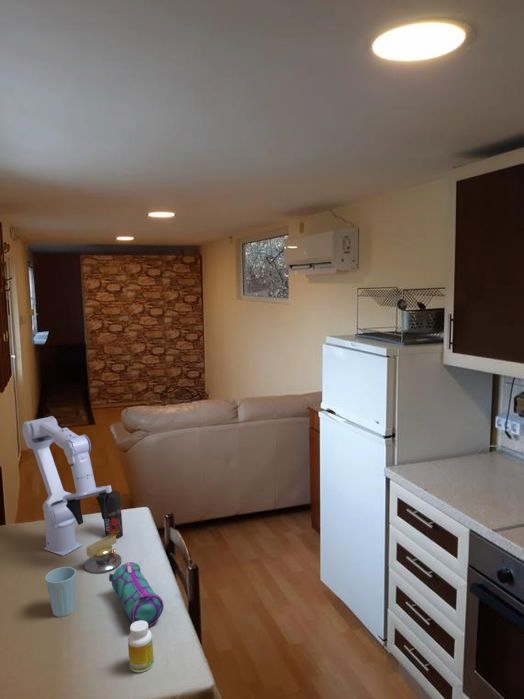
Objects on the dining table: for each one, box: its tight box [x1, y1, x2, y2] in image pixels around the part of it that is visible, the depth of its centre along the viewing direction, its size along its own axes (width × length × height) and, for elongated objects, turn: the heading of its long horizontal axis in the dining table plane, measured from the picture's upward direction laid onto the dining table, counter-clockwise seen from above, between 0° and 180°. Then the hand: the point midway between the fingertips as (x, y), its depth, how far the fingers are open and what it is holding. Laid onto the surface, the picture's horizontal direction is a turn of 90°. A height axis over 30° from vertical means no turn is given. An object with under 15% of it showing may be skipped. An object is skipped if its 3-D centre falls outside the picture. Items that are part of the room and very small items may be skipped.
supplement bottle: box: [127, 620, 154, 673], centre depth 125 cm, size 5×5×10 cm
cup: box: [44, 566, 77, 618], centre depth 146 cm, size 8×8×10 cm
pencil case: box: [108, 561, 164, 629], centre depth 146 cm, size 21×9×10 cm, turn 30°
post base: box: [83, 548, 122, 575], centre depth 170 cm, size 11×11×5 cm
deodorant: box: [103, 490, 124, 540], centre depth 187 cm, size 6×6×15 cm
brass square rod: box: [86, 534, 117, 558], centre depth 169 cm, size 6×10×4 cm, turn 149°
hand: (93, 521), depth 164 cm, fingers open, 7 cm apart
